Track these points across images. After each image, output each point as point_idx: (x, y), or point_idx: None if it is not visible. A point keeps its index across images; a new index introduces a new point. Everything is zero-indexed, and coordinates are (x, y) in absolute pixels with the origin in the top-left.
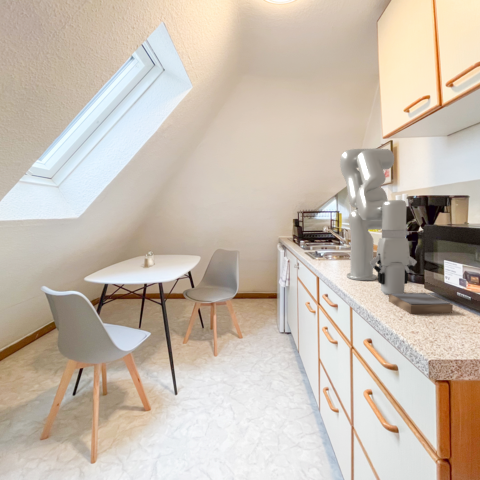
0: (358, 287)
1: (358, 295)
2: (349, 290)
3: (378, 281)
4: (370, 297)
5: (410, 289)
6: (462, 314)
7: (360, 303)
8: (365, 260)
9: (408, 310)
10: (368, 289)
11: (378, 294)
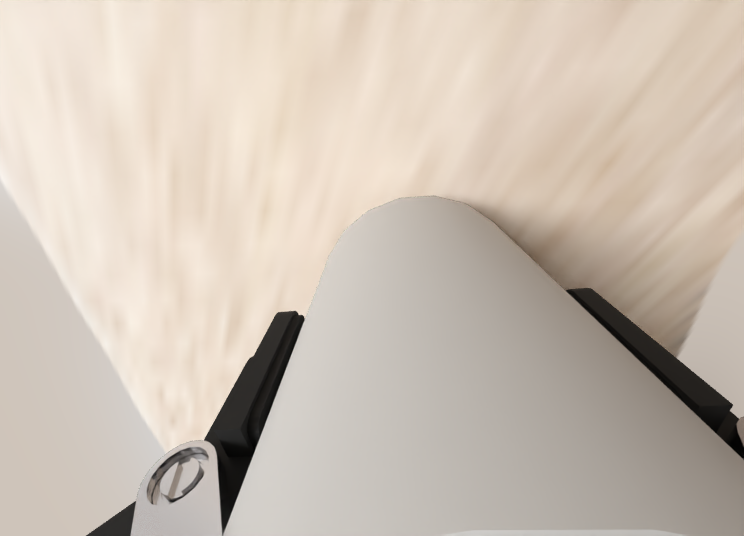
0: (128, 30)
1: (146, 325)
2: (52, 182)
3: (276, 315)
4: (226, 363)
5: (701, 120)
6: None
7: (164, 445)
8: None
9: None
10: (239, 135)
11: (296, 300)
